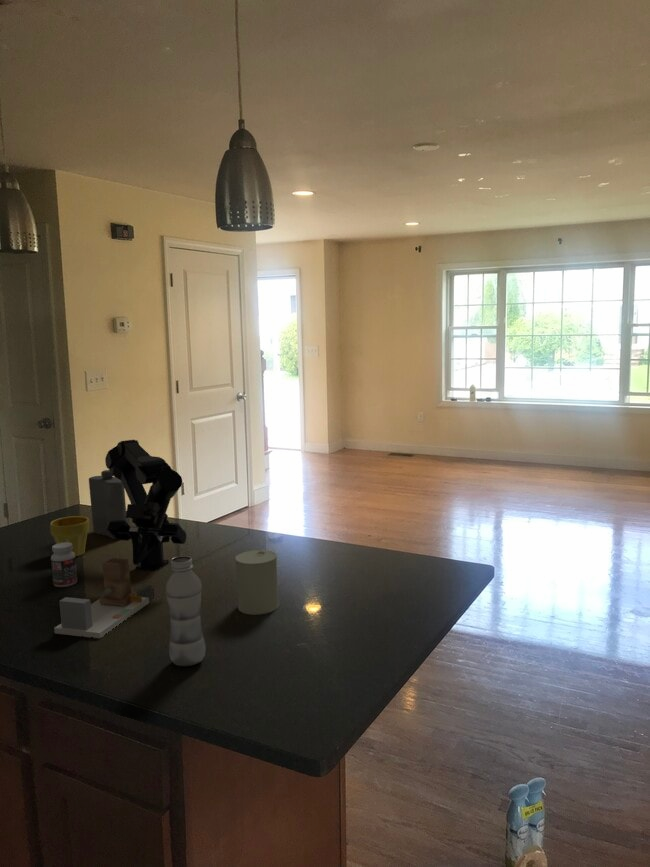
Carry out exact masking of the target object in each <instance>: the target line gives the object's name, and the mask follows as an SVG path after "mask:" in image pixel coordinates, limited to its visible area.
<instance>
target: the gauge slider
mask: <svg viewBox="0 0 650 867" xmlns="http://www.w3.org/2000/svg"><path fill="white" fill-rule="evenodd" d="M129 564H130V562H129V558H119V557H112V558H111V559H108V560H107V561H105V562H103V563H102V572H103V573H102V574H103V584H104V590H103V592H102V593H103V596H101V597H100V598H99V599H100V604H108V605H118V606H126V605H127V604H129V603H130V602H141V601H142V595H138V592H135V591H132V588H131V586H132V585H131V575H130V565H129Z"/></svg>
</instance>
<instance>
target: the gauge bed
mask: <svg viewBox="0 0 650 867" xmlns="http://www.w3.org/2000/svg"><path fill="white" fill-rule="evenodd" d="M141 597H142V596H141ZM149 603H150V598H149V597H144V596H143V597H142V601H141V602H130V603H129V604H127V605H126V606H118V605H108V604H100V598H99V599H97V600H95V601H94V602H91V599H88V598H79V597H78V598H77V597H66V596H65V597H63V598H62V599H60V600H59V611H60V612H59V613H60V614H59V615H60V622H61V623H60V624H58V625H57V626H54V628H53V629H54V634H57V635H65V636H66V635H67V636H73V637H75V636H76V637H82V636H83V637H85V638H91V637H93V639H100V638H101V637H102V638H104V637H105V636H106V635H107V634H109V633H110V632H111V631H113V630H114V629H115V627H116V626H117V627H118V626H120V625H121V624H123V623H124V622H125V621H126V620H128V619H129V618H130V617H132V616H133V615H135V614H136V613H138V612H139V611H140V610H142V609H143V608H144V607H145V606H147V605H148V604H149ZM134 613H135V614H134ZM131 615H132V616H131ZM128 617H129V618H128ZM127 618H128V619H127ZM124 620H125V621H124ZM123 621H124V622H123ZM120 623H121V624H120ZM119 624H120V625H119ZM113 628H114V629H113ZM112 629H113V630H112ZM109 631H110V632H109ZM108 632H109V633H108ZM106 633H107V634H106ZM105 634H106V635H105ZM104 635H105V636H104ZM102 638H101V639H102Z"/></svg>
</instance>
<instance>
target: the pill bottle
mask: <svg viewBox="0 0 650 867" xmlns="http://www.w3.org/2000/svg"><path fill="white" fill-rule="evenodd" d="M72 549H73V546H72V543H69V542H64V543H59V544H56V543H55V544H54V545H52V546H51V551H52V553H53V554H52V555H51V556H50V563H51V574H52V585H54V587H57V588H66V587H71V586H73V585H75V584H76V583H77V582H78V570H77V559H76V558H77V557H75V553H74V552H72Z"/></svg>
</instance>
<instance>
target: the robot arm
mask: <svg viewBox="0 0 650 867" xmlns="http://www.w3.org/2000/svg"><path fill="white" fill-rule="evenodd" d="M104 460H105V466H106V468H107V470H110V472H111V474H112V476H113V477H116V478H118V479H120V480H121V481H122V484H123V486H124V491H125V492H126V495H127V497H128V500H129V502H130V503H128V504H126V518H127V519H129V518H130V519H132V520H131V522H132V524H133V525H132V524H131V525H130V524H129V523H128V521H127V522H126V521H123V520H112V521H110V522H109V524H108V526H107V530H108V531H109V532H110V533H111V534H112V535H113V536H114V538H115V539H117V540H116V541H126V542H128V541H129V540H131V543H132V564H133V565H135V569H140V570H154V571H158V570H159V569H161V568H163V567H164V566H165V565H167V564H169V562H170V560H169V559H165V558H164V556H165V555H164V544H163V543H169V542H170V540H171V542H172V543H173V544H179V545H180V544H181V545H184V544H185V542H186V539H187V532H185V530H184V529H183V528H182V526H181V525H180V524H179V523H176V522H170V521H169V520H168V517H169V515H168V513H167V511H168V508H169V505H170V502H171V499H172V498H174V496H175V494H177V492H178V491H179V490H180V488H181V487H182V485H183V478H182V476H181V475H180V474H179V472H177V471H176V470H174V469H173V468H171V466H170V465H169V463H168V462H166V460H165V459H163V458H162V457H160V456H155V455H154V456H153V455H150V454H149V453H148V451H146V450H145V449H144V448H143V447H142V446H141V445H140V444H139V441H138V439H128V440H127V439H126V440H121V441H119V442H117V444H116V446H113V447H112V448H111V449H109V450H108V451H107V453H106V455H105V459H104ZM148 484H151V485H150V487H149V490H148V493H147V491H146V489H145V487H144V485H148Z"/></svg>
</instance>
